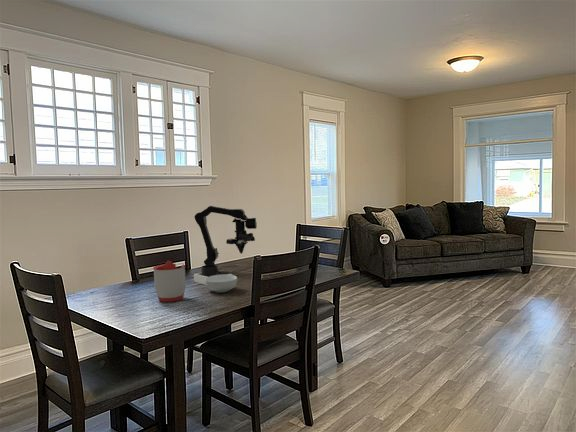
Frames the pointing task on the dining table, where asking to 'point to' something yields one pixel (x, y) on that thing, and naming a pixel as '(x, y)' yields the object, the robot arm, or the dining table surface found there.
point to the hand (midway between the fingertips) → (241, 253)
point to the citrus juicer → (169, 282)
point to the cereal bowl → (221, 282)
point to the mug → (209, 270)
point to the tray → (201, 278)
